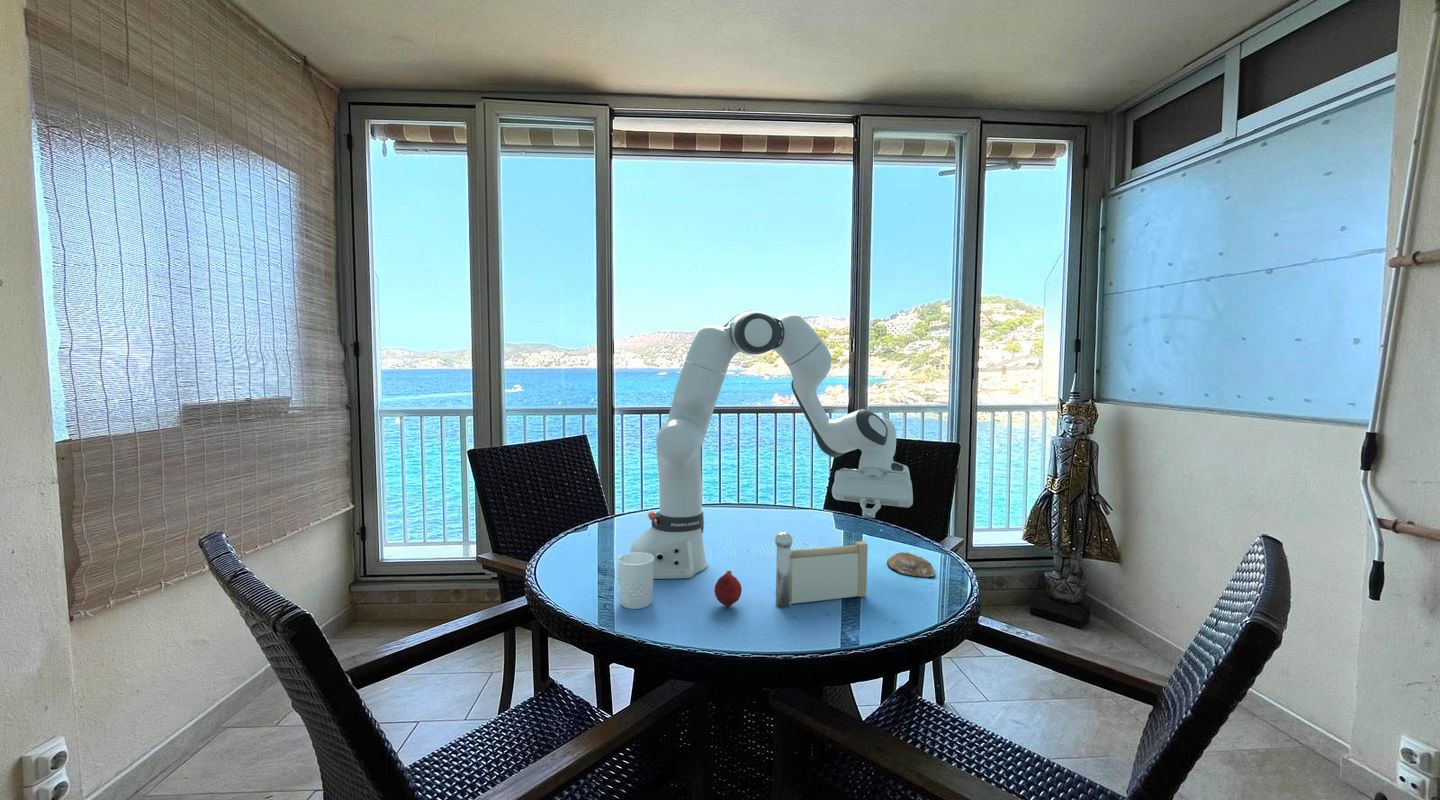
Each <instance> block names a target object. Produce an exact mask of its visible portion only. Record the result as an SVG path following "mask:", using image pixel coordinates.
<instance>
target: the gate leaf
mask: <svg viewBox="0 0 1440 800" xmlns="http://www.w3.org/2000/svg"><path fill="white" fill-rule="evenodd" d="M868 546H869V545H868V543H867V542H865V541H863V540H860V541H854V544H851V545H837V546H826V547H825V546H824V547H816V548H815V547H814V548H802V549H791V551H790V604H800V603H809V602H817V601H818V602H819V601H829V600H836V599H845V598H853V597H854V598H856V597H860V598H861V597H867V585H868V584H867V582H868V581H867V580H868V577H867V576H868V549H869V547H868Z"/></svg>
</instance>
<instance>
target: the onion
mask: <svg viewBox="0 0 1440 800" xmlns="http://www.w3.org/2000/svg"><path fill="white" fill-rule="evenodd" d="M732 573H733V572H732V570H727V571H726V572H725V573H724V574H723V575H722V576H720V577H719V578H718V579H717V581H716V583H715V585H714V588H713V589H714V596H715V597H716V600H717V601H718V602H719V603H720V604H721V605H723V606H725V607H726V608H730V607H731V606H733V605H734V604H735V603H736V602H738V601H739V600H740V597H741V596H742V584H741V582H740V581H739V580H738V578H736V576H735V575H734V574H732Z"/></svg>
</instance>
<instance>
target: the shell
mask: <svg viewBox="0 0 1440 800" xmlns="http://www.w3.org/2000/svg"><path fill="white" fill-rule="evenodd" d="M886 565H887V566H888V569H889V570H890V569H891V571H892V572H895V573H896V574H900V575H902V576H907V577H913V578H923V579H924V578H925V579H931V578H932V577H935V575H936V572H935V570H934V567H933V565H932V563H931V562H930V561H928V560H926V559H925V558H923V557H922V556H920V555H919V556H918V555H915V554H912V553H909V551H908V552H903V551H900V552H898V553H896V554H893V555H891V557H888V558H887V562H886Z"/></svg>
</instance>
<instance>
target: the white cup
mask: <svg viewBox="0 0 1440 800" xmlns="http://www.w3.org/2000/svg"><path fill="white" fill-rule="evenodd" d="M617 570H618V573H617V574H618V587H619V588H618V589H619V593H620V594H619V595H620V600H619V601H620V606H622V607H623V608H625V609H629V610H639V609H645V608H647V607H648V606H649V605H651V603H652V600H653V598H652V597H653V592H652V591H653V588H654V579H653V573H654V556H653V555H651V554H648V553H642V552H635V553H630V552H629V553H625V554H621V555H620V556H618V558H617Z"/></svg>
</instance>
